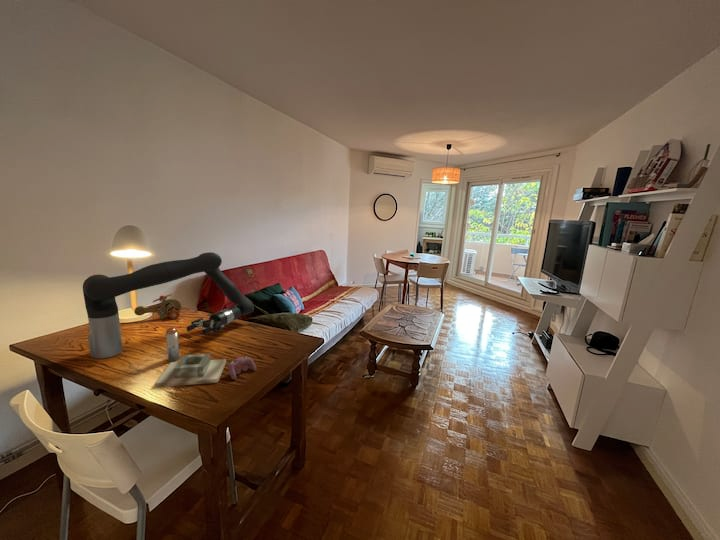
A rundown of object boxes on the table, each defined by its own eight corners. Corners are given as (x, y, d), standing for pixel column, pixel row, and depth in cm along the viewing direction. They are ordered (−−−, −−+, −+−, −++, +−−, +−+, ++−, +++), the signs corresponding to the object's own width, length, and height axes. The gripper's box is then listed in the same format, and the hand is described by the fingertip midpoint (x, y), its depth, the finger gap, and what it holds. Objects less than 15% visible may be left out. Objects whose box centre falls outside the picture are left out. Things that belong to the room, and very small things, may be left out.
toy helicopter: (182, 318, 157) (180, 294, 154) (134, 324, 146) (131, 299, 143) (181, 313, 164) (180, 290, 161) (136, 319, 152) (133, 294, 150)
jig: (155, 387, 99) (154, 372, 98) (171, 365, 113) (170, 352, 111) (217, 382, 104) (217, 369, 103) (226, 362, 117) (225, 350, 116)
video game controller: (252, 370, 116) (248, 353, 116) (258, 370, 113) (253, 352, 113) (228, 380, 108) (224, 362, 109) (234, 380, 105) (229, 362, 106)
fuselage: (166, 362, 115) (163, 330, 112) (170, 357, 118) (167, 325, 116) (177, 361, 116) (174, 329, 113) (181, 356, 119) (178, 325, 117)
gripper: (210, 309, 142) (181, 320, 127) (233, 313, 138) (207, 325, 123) (210, 323, 144) (182, 335, 128) (234, 328, 140) (208, 341, 125)
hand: (194, 331), depth 126 cm, fingers open, 8 cm apart
